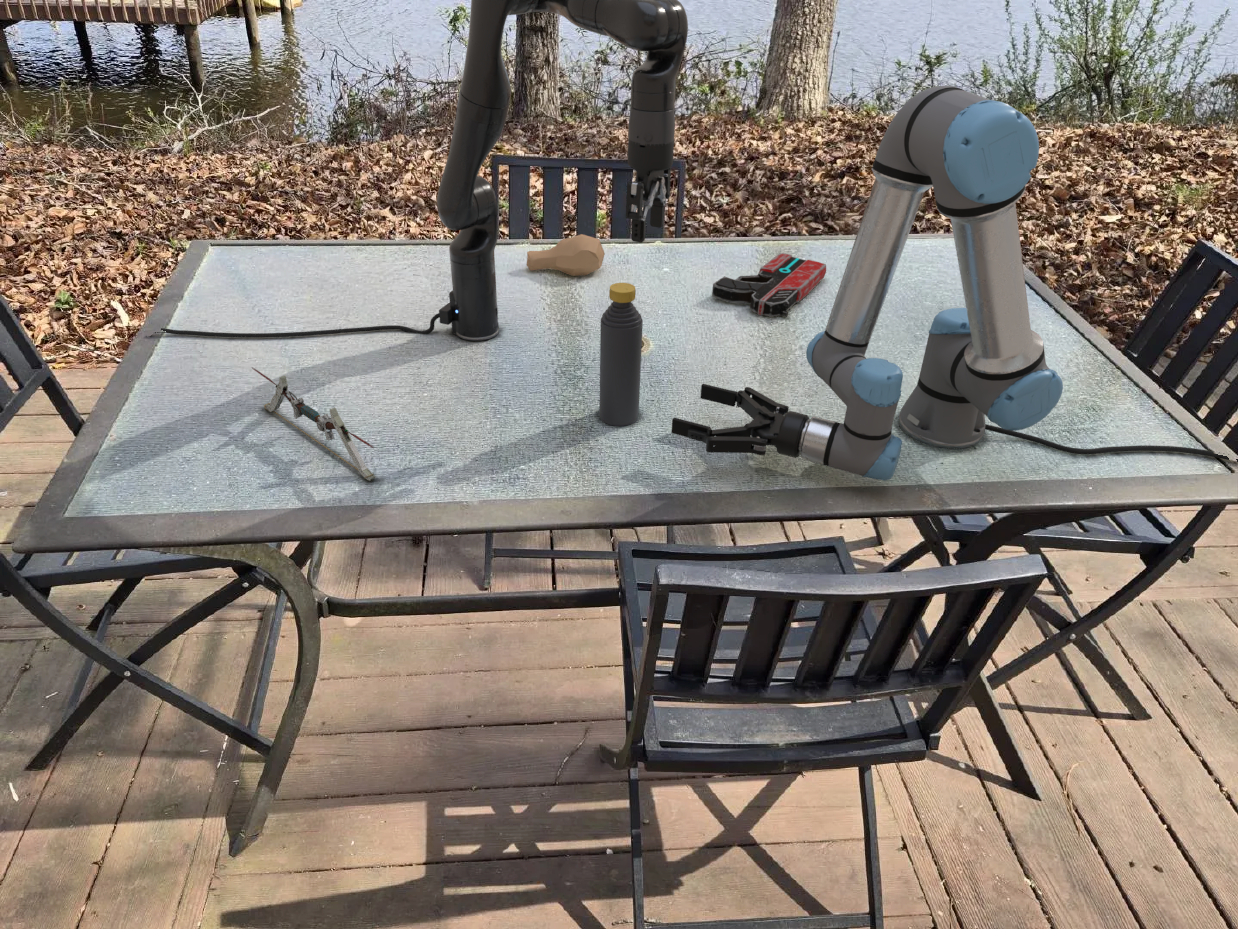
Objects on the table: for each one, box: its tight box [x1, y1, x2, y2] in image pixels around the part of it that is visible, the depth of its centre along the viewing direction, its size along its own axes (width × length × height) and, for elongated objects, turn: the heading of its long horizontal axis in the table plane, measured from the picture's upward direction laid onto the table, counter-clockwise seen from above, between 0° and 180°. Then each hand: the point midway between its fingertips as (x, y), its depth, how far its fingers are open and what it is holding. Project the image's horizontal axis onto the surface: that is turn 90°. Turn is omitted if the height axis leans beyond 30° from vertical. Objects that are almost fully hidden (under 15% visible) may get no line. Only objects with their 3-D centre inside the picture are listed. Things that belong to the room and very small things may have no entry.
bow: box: [250, 366, 376, 482], centre depth 151 cm, size 39×2×10 cm, turn 47°
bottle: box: [598, 301, 644, 427], centre depth 157 cm, size 7×7×25 cm
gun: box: [711, 252, 827, 318], centre depth 215 cm, size 4×31×19 cm
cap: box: [608, 282, 637, 303], centre depth 151 cm, size 4×4×2 cm
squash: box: [526, 233, 606, 277], centre depth 222 cm, size 11×20×9 cm, turn 90°
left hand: (647, 233), depth 152 cm, fingers open, 8 cm apart
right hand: (687, 407), depth 155 cm, fingers open, 13 cm apart
